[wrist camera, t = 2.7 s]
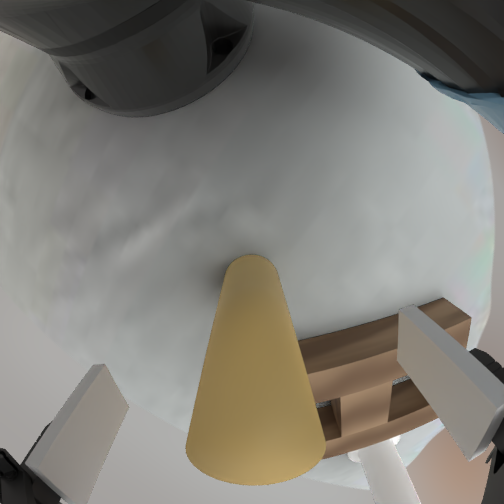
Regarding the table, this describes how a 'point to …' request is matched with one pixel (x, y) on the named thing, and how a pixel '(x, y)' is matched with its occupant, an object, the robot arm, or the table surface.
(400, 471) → the candle
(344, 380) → the socket block
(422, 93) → the table surface
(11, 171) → the table surface
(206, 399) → the peg
